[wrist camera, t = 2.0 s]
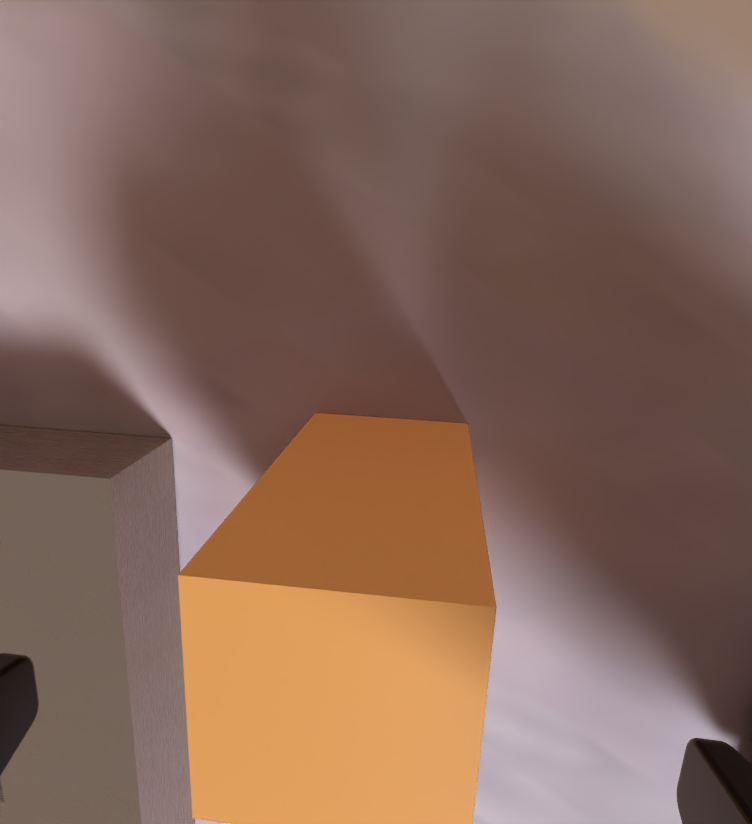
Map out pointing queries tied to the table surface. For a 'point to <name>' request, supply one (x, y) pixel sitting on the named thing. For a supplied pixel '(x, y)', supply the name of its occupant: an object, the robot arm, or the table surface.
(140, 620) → the grey square hole board
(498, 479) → the table surface
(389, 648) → the orange rectangular block
